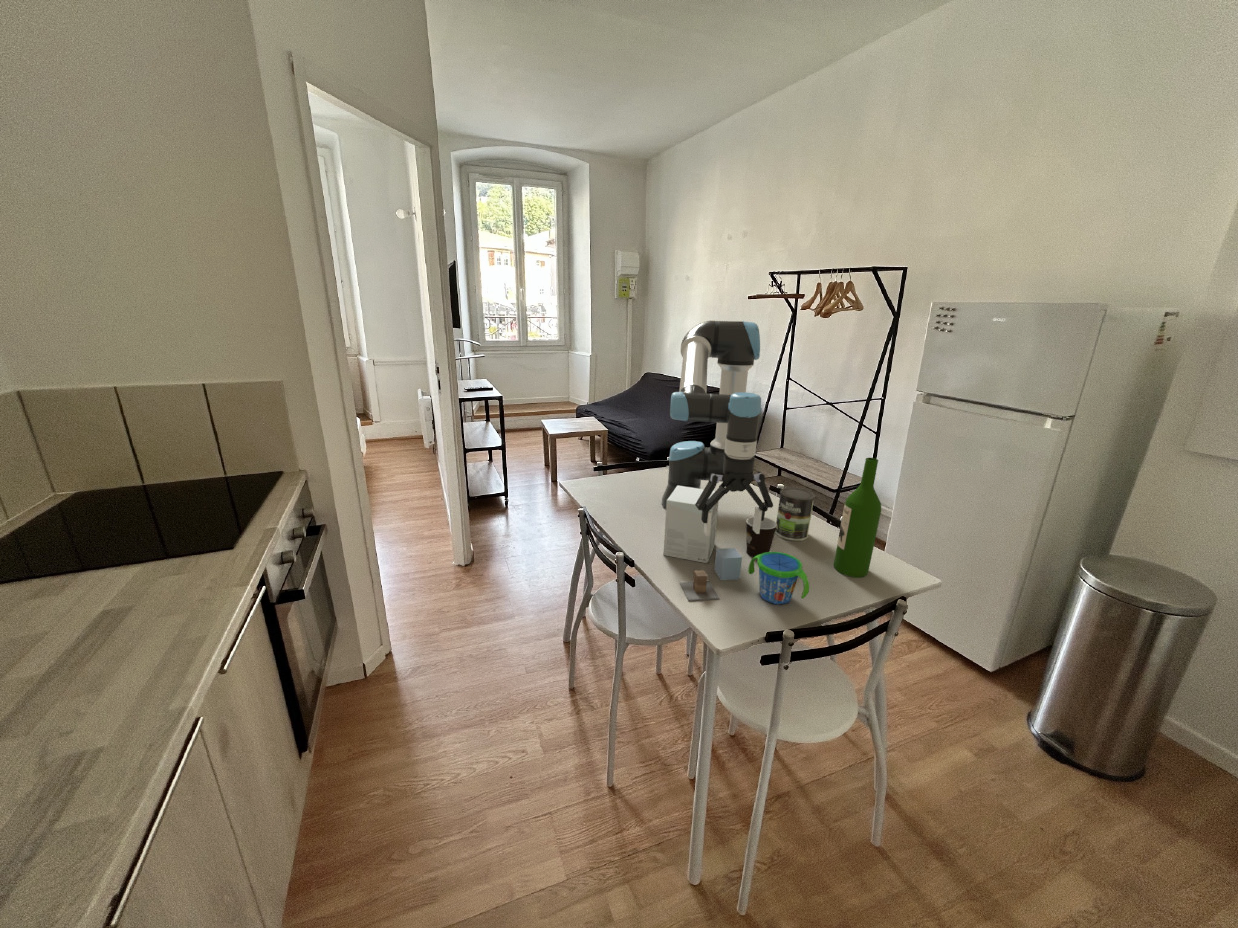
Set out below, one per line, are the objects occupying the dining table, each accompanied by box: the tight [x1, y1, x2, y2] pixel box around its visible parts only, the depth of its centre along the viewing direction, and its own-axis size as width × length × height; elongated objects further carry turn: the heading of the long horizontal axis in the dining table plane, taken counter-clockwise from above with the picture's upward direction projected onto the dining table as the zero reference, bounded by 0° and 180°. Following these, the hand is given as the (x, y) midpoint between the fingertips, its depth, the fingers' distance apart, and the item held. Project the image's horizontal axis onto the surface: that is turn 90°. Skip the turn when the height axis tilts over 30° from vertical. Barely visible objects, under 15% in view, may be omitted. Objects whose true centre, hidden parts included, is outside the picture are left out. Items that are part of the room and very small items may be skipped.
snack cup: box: [747, 551, 810, 605], centre depth 122 cm, size 16×11×10 cm
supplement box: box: [662, 485, 720, 564], centre depth 144 cm, size 13×13×18 cm
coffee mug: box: [745, 516, 777, 558], centre depth 145 cm, size 12×9×10 cm
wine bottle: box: [833, 457, 882, 578], centre depth 133 cm, size 9×9×32 cm
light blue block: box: [714, 547, 743, 581], centre depth 133 cm, size 5×5×7 cm
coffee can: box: [775, 487, 816, 542], centre depth 157 cm, size 10×10×14 cm
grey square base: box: [679, 569, 720, 602], centre depth 125 cm, size 8×8×5 cm
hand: (731, 532), depth 129 cm, fingers open, 13 cm apart
